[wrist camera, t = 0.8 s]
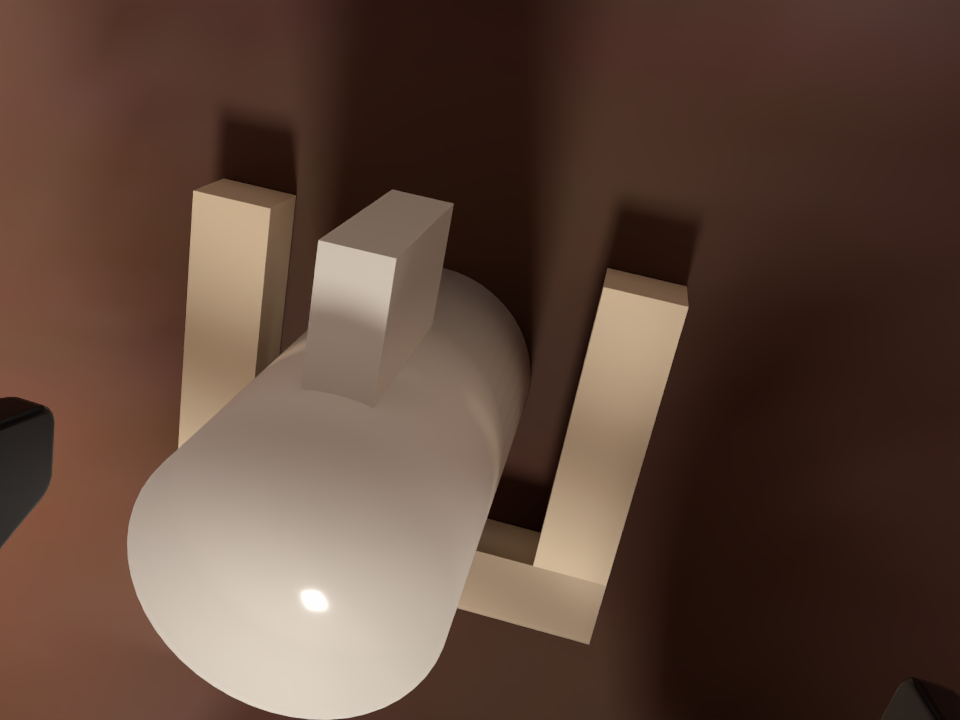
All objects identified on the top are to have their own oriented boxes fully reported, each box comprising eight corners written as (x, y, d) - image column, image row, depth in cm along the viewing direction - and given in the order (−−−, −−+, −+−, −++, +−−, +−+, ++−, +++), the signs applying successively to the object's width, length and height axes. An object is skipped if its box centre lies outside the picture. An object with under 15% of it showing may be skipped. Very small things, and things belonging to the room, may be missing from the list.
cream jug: (507, 484, 23) (421, 756, 15) (312, 434, 23) (122, 668, 15) (574, 191, 20) (514, 324, 12) (349, 141, 20) (138, 233, 12)
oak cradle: (592, 606, 24) (589, 644, 22) (200, 500, 25) (173, 529, 23) (686, 286, 20) (688, 307, 19) (223, 178, 21) (193, 190, 20)
